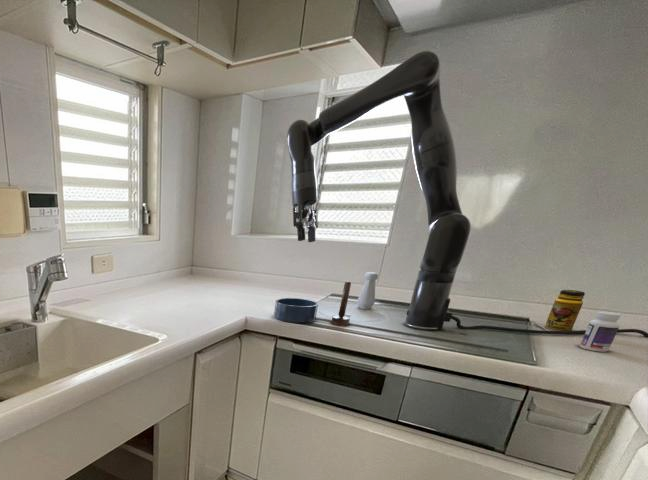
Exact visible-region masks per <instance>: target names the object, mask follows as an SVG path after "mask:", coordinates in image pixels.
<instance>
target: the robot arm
mask: <svg viewBox="0 0 648 480" xmlns="http://www.w3.org/2000/svg"><path fill="white" fill-rule="evenodd" d="M402 96H403V98H404V100H405V103H406V104H405V105H406V106H407V110H408V113H409V117H410V125H411V148H412V149H411V150H412V156H413V162H414V166H415V171H416V175H417V178H418V182H419V186H420V188H421V192H422V194H423V197H424V200H425V205H426V212H427V226H428V227H427V229H428V230H427V231H428V232H427V233H428V238H427V241H426V242H427V243H426V246H425V250H424V253H423V255H422V259H421V260H420V265H419V269H418V273H417V276H416V280H415V284H414V288H413V292H412V296H411V299H410V303H409V306H408V307H409V308H408V310H406V318H405V321H404V325H405V326H407V327H409V328H412V329H413V328H414V329H418V330H423V331H442V329H443V327H444V324H445V323H450V322H451V320H453V321H455V323H456V327H457V328H459V329H460V330H480V329H481V330H493V331H503V332H512V333H523V334H536V335H537V334H539V335H584V334H585V332H586V330H587V329H583V330H573V331H547V330H545V329H544V330H542V329H541V330H540V329H527V328H526V329H525V328H513V327H505V326H502V327H501V326H494V325H471V326H465V325H462V324H461V323H462V322H461V319H460V318H458V317H457V316H455V315H453V313H452V312H451V311H450V310H448V309H449V306H450V303H451V298H450V294H451V291H452V289H453V288H452V287H453V284H454V281H455V279H456V274H457V271H458V268H459V265H460V264H461V262H462V259H463V256H464V253H465V249H466V246H467V243H468V240H469V237H470V233H471V228H472V227H471V226H472V225H471V221H470V219H469V218H468V217H467V216H466V214H465V215H464V214H463V211H462V208H461V205H460V201H459V198H458V193H457V178H458V176H457V175H458V167H457V166H458V165H457V153H456V148H455V143H454V138H453V133H452V130H451V126H450V124H449V121H448V118H447V116H446V113H445V111H444V108H443V103H442V94H441V60H440V57H439V56H438V55H437V53H435V51H432V50H421V51H418V52H416V53H414V54H412V55H411V56H410V57H408V58H407V59H405V60H404V61H403V62H401V63H400V64H399V65H397V66H396V67H395V68H393V69H392V70H390V71H389V72H387V73H386V74H385V75H383V76H381V77H380V78H378V79H376V80H375V81H374V82H372V83H371V84H370V83H369V85H367V86H365V87H363V88H362V89H360V90H358V91H357V92H354V93H352V94H350V95H348V96H347V97H344V98H343V99H340V100H339V101H337V102H336V103H333V104H332V105H330V106H328V107H327V108H325V109H323V110H321V111H320V112H319V114H318V117H317V118H315V119H314V120H313V121H311V122H308V121H306V120H305V119H296V120H295V121H293V122H292V123H291V124H290V126H288V130H287V133H286V143H287V149H288V155H289V158H290V163H291V165H290V167H291V168H290V171H291V200H292V201H291V202H292V222H293V223H292V225H293V227H295V228H296V231H297V232H296V233H297V241H298V242H302V241H305V240H306V230H307V242H308V243H314V242H315V241H316V230H317V229H318V228H319V222H318V221H319V220H318V210H317V209H313V206H314V205H315V204H316V203H318V186H317V183H318V182H317V176H316V162H315V156H314V154H313V152H312V147H313V146H315V145H316V144H318V143H319V142H321V141H322V140H324V139H325V138H326V137H327V136H329V135H330V134H332V133H335V132H338V131H339V130H341V129H343V128H345V127H347V126H349V125H351V124H353V123H355V122H356V121H357V120H360V119H361V118H362V117H364V116H365V115H367V114H368V113H370V112H372V111H373V110H375V108H377V107H379V106H382V105H383V104H385V103H387V102H390V101H391V100H394V99H396V98H399V97H402ZM622 333H623V334H624V333H634V334H639V335H642V336H644V337H645V338H648V332H647V331H646V330H642V329H637V328H621V329H620V328H619V329H618V331H617V333H616V334H622Z"/></svg>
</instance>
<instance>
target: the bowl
mask: <svg viewBox="0 0 648 480" xmlns="http://www.w3.org/2000/svg"><path fill="white" fill-rule="evenodd" d="M318 307H319V303H318V302H317V301H314V300H312V299H311V300H310V299H307V298H306V299H305V298H295V297H285V298H278V299H275V303H274V310H273V317H274V318H276V319H277V320H279V321H281V322H284V323H285V322H286V323H292V324H309V323H312V322H314V321H316V319H317V314H318Z"/></svg>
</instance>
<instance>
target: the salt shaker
mask: <svg viewBox="0 0 648 480" xmlns="http://www.w3.org/2000/svg"><path fill="white" fill-rule="evenodd" d="M364 279H365V282H364V284H363V286H362V289H361V291H360V293H359V296H358V298H357V300H356V303H357V306H358V309H361V310H371V309H372V308H373V306H374V305H375V302H376V280H378V279H379V273H377V272H375V271H374V272H373V271H368V272H366V273H365V274H364Z"/></svg>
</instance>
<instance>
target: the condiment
mask: <svg viewBox="0 0 648 480" xmlns="http://www.w3.org/2000/svg"><path fill="white" fill-rule="evenodd" d="M585 295H586V293H585V291H581V290H575V289H574V290H573V289H561V291H559V294H558V296H557V298H556V299H555V300H554V302H553V304H552V307H551V309H550V312H549V313H548V316H547V319H546V323H545V324H538V323H536V324H535V325H536V326H539V327H540V328H542V329H544V331H574V330H573V328H574V325H575V323H576V321H577V318H578V316H579V313H580V311H581V308H582V306H583V305H584V302H583V300H584V297H585Z"/></svg>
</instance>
